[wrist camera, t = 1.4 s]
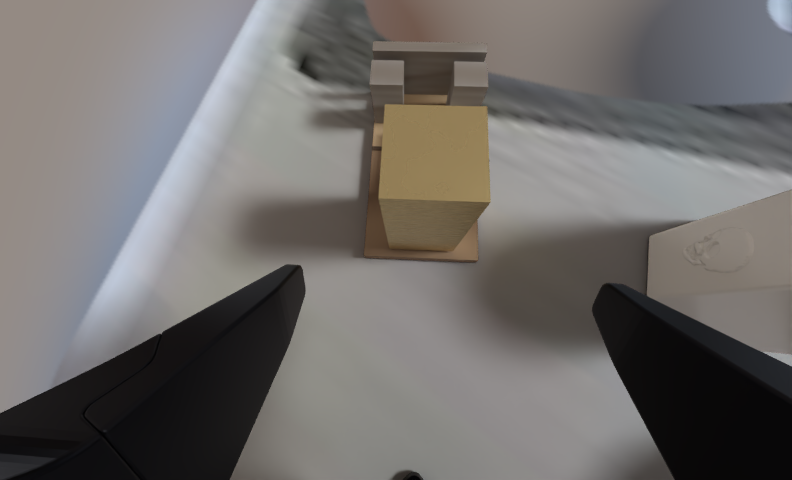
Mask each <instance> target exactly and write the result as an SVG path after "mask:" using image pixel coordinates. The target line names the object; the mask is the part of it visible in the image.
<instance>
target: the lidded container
mask: <svg viewBox="0 0 792 480" xmlns="http://www.w3.org/2000/svg"><path fill="white" fill-rule="evenodd" d="M647 296H648V297H650V298H652V299H654V300H656V301H658V302H660V303H662V304H664V305H666V306H668V307H670V308H672V309H675V310H677V311H679V312H681V313H683V314H685V315H687V316H689V317H691V318H693V319H695V320H697V321H699V322H701V323H703V324H705V325H707V326H709V327H711V328H713V329H715V330H718V331H720V332H722V333H724V334H726V335H728V336H730V337H732V338H734V339H736V340H738V341H740V342H742V343H744V344H746V345H748V346H750V347H752V348H754V349H756V350H758V351H762V352H772V353H781V354H791V355H792V190H789V191H785V192H782V193H779V194H776V195H773V196H770V197H767V198H764V199H761V200H758V201H755V202H752V203H748V204H745V205H742V206H739V207H736V208H733V209H730V210H727V211H724V212H721V213H718V214H715V215H712V216H708V217H705V218H702V219H699V220H696V221H693V222H690V223H687V224H684V225H681V226H678V227H675V228H672V229H668V230H665V231H662V232H659V233H656V234H653V235H651V236H650V237H649V251H648V277H647Z"/></svg>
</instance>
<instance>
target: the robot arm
mask: <svg viewBox="0 0 792 480" xmlns="http://www.w3.org/2000/svg"><path fill="white" fill-rule="evenodd" d="M304 297H305V282H304V276H303V270H302V267H301V266H300V265H289V264H287V265H284V266H283V267H281V268H279V269H277V270H275V271H273V272H272V273H270V274H268V275H266V276H264V277H262V278H261V279H259V280H257V281H255V282H253V283H251V284H250V285H248V286H246V287H244V288H242V289H240V290H239V291H237V292H235V293H233V294H231V295H229V296H228V297H226V298H224V299H222V300H220V301H218V302H217V303H215V304H213V305H211V306H209V307H207V308H206V309H204V310H202V311H200V312H198V313H196V314H194V315H193V316H191V317H189V318H187V319H185V320H183V321H182V322H180V323H178V324H176V325H174V326H172V327H171V328H169V329H167V330H165V331H163V332H162V335H161V334H158V335H156V336H154V337H152V338H150V339H149V340H147V341H145V342H143V343H141V344H139V345H137V346H136V347H134V348H132V349H130V350H128V351H126V352H124V353H122V354H120V355H119V356H117V357H115V358H113V359H111V360H109V361H107V362H105V363H103V364H101V365H99V366H97V367H95V368H93V369H91V370H89V371H87V372H85V373H83V374H81V375H79V376H77V377H74V378H72V379H70V380H68V381H66V382H64V383H62V384H60V385H58V386H56V387H54V388H52V389H50V390H48V391H46V392H44V393H41V394H39V395H37V396H35V397H33V398H31V399H29V400H27V401H25V402H23V403H21V404H19V405H17V406H14V407H12V408H10V409H8V410H6V411H4V412H2V413H0V480H230V477H231V475H232V473H233V471H234V468H235V466H236V464H237V462H238V459H239V457H240V455H241V453H242V450H243V448H244V446H245V443H246V441H247V439H248V437H249V434H250V432H251V430H252V428H253V425H254V423H255V421H256V419H257V416H258V414H259V412H260V410H261V407H262V405H263V403H264V401H265V398H266V396H267V394H268V392H269V389H270V387H271V385H272V383H273V380H274V378H275V376H276V373H277V371H278V369H279V367H280V364H281V362H282V360H283V358H284V355H285V353H286V351H287V349H288V346H289V344H290V341H291V338H292V335H293V332H294V329H295V326H296V322H297V319H298V316H299V313H300V310H301V306H302V303H303V300H304ZM592 312H593V316H594V318H595V321H596V323H597V326H598V328H599V331H600V333H601V335H602V338H603V340H604V343H605V345H606V348H607V350H608V353H609V355H610V357H611V360H612V362H613V364H614V366H615V368H616V370H617V372H618V374H619V376H620V378H621V380H622V382H623V384H624V386H625V387H626V389H627V391H628V393H629V395H630V397H631V399H632V401H633V402H634V404H635V406H636V408H637V410H638V412H639V414H640V416H641V418H642V419H643V421H644V423H645V425H646V427H647V429H648V431H649V433H650V434H651V436H652V438H653V440H654V442H655V444H656V446H657V448H658V450H659V451H660V453H661V455H662V457H663V459H664V461H665V463H666V465H667V466H668V468H669V470H670V472H671V474H672V476H673V478H674V480H792V367H791V366H789V365H787V364H785V363H783V362H781V361H779V360H777V359H775V358H773V357H771V356H769V355H767V354H765V353H763V352H760V351H758V350H756V349H754V348H752V347H750V346H748V345H746V344H744V343H742V342H740V341H738V340H736V339H734V338H732V337H730V336H728V335H726V334H724V333H722V332H720V331H718V330H715V329H713V328H711V327H709V326H707V325H705V324H703V323H701V322H699V321H697V320H695V319H693V318H691V317H689V316H687V315H685V314H683V313H681V312H679V311H677V310H675V309H672V308H670V307H668V306H666V305H664V304H662V303H660V302H658V301H656V300H654V299H652V298H650V297H648V296H646V295H644V294H642V293H640V292H638V291H636V290H634V289H632V288H629V287H627V286H625V285H623V284H617V283H606V284H604V285H603V286H602V287H601V289H600V291H599V293H598V295H597V297H596V299H595V301H594V304H593V307H592ZM403 480H423V478H422V477H421V476H420V475H419V474H418V473H416V472H411V473H409V474H408V475H407V476H406V477H405V478H404V479H403Z"/></svg>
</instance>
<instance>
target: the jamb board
mask: <svg viewBox="0 0 792 480" xmlns="http://www.w3.org/2000/svg"><path fill="white" fill-rule="evenodd" d="M486 54H487V44H486V43H450V42H379V41H373V58H374V60H372V64H371V75H370V90H371V96H372V103H373V110H374V116H375V120H374V132H373V145H372V158H371V171H370V184H369V197H368V209H367V222H366V235H365V248H364V256H365V258H384V259H407V260H430V261H453V262H477V261H478V225H477V221H476V222H475V223H474V224H473V226H472V227H471V228H470V230H469V231H468V232H467V234H466V235H465V236H464V238H463V239H462V240H461V241H460V243H459V244H458V245H457V247H456V248H455V249H454V251H432V250H408V249H389V244H388V240H387V235H386V231H385V226H384V221H383V217H382V212H381V208H380V203H379V199H378V197H379V183H380V168H381V153H382V139H383V124H384V110H385V104H397V105H442V106H481V105H482V102H483V100H484V97H485V94H486V91H487V89H488V68H487V62H484V60H485V57H486Z"/></svg>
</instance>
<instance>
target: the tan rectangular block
mask: <svg viewBox="0 0 792 480" xmlns="http://www.w3.org/2000/svg"><path fill="white" fill-rule="evenodd" d="M378 199H379V203H380V208H381V212H382V217H383V221H384V226H385V231H386V235H387V240H388V244H389V249H408V250H432V251H454V249H455V248H456V247H457V245H458V244H459V243H460V241H461V240H462V239H463V238H464V236H465V235H466V234H467V232H468V231H469V230H470V228H471V227H472V226H473V224H474V223H475V222H476V221H477V219H478V218H479V217H480V215H481V214H482V213H483V211H484V210H485V209H486V207H487V206H488V205H489V203H490V176H489V148H488V119H487V106H442V105H397V104H385V110H384V124H383V139H382V153H381V168H380V183H379V197H378Z"/></svg>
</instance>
